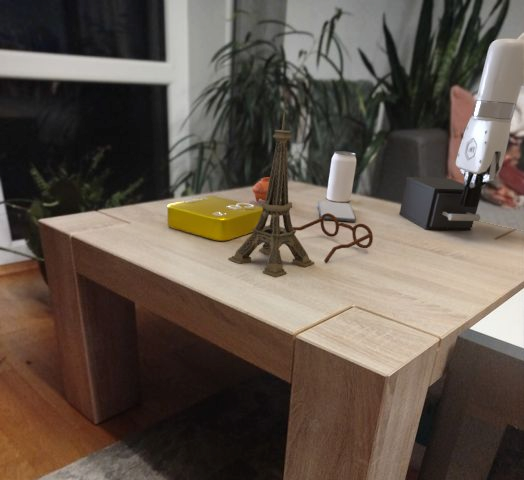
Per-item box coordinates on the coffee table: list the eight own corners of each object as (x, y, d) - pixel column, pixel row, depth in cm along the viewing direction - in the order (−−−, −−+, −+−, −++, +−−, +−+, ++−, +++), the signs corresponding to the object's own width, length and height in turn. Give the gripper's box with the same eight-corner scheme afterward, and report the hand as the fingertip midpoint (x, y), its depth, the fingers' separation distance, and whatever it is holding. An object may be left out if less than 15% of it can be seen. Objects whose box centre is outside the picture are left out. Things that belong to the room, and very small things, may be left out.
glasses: (371, 252, 96) (376, 226, 93) (325, 263, 88) (329, 235, 85) (321, 234, 104) (324, 210, 102) (275, 243, 96) (277, 217, 94)
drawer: (482, 233, 112) (492, 199, 108) (440, 232, 109) (449, 198, 106) (444, 214, 126) (451, 184, 122) (406, 213, 123) (412, 182, 120)
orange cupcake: (289, 206, 123) (286, 178, 120) (259, 213, 123) (255, 185, 119) (281, 197, 130) (277, 171, 126) (252, 204, 129) (247, 177, 125)
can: (351, 203, 133) (359, 155, 127) (327, 201, 132) (333, 153, 127) (348, 198, 138) (355, 152, 133) (325, 196, 138) (331, 150, 132)
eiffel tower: (268, 248, 93) (280, 98, 81) (314, 263, 87) (334, 104, 75) (228, 259, 86) (235, 96, 74) (275, 277, 80) (291, 103, 68)
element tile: (210, 214, 112) (211, 192, 110) (266, 228, 105) (268, 205, 103) (163, 226, 101) (162, 202, 98) (221, 243, 94) (222, 217, 91)
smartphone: (320, 215, 114) (318, 200, 127) (319, 220, 115) (317, 204, 128) (356, 219, 114) (350, 203, 127) (355, 223, 115) (350, 207, 128)
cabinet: (470, 230, 117) (481, 190, 112) (425, 229, 114) (434, 188, 110) (440, 215, 128) (449, 178, 124) (399, 214, 126) (406, 176, 121)
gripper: (456, 108, 105) (435, 197, 114) (498, 114, 92) (471, 214, 101) (487, 110, 106) (465, 198, 115) (534, 116, 94) (504, 215, 102)
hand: (468, 205), depth 108 cm, fingers closed
